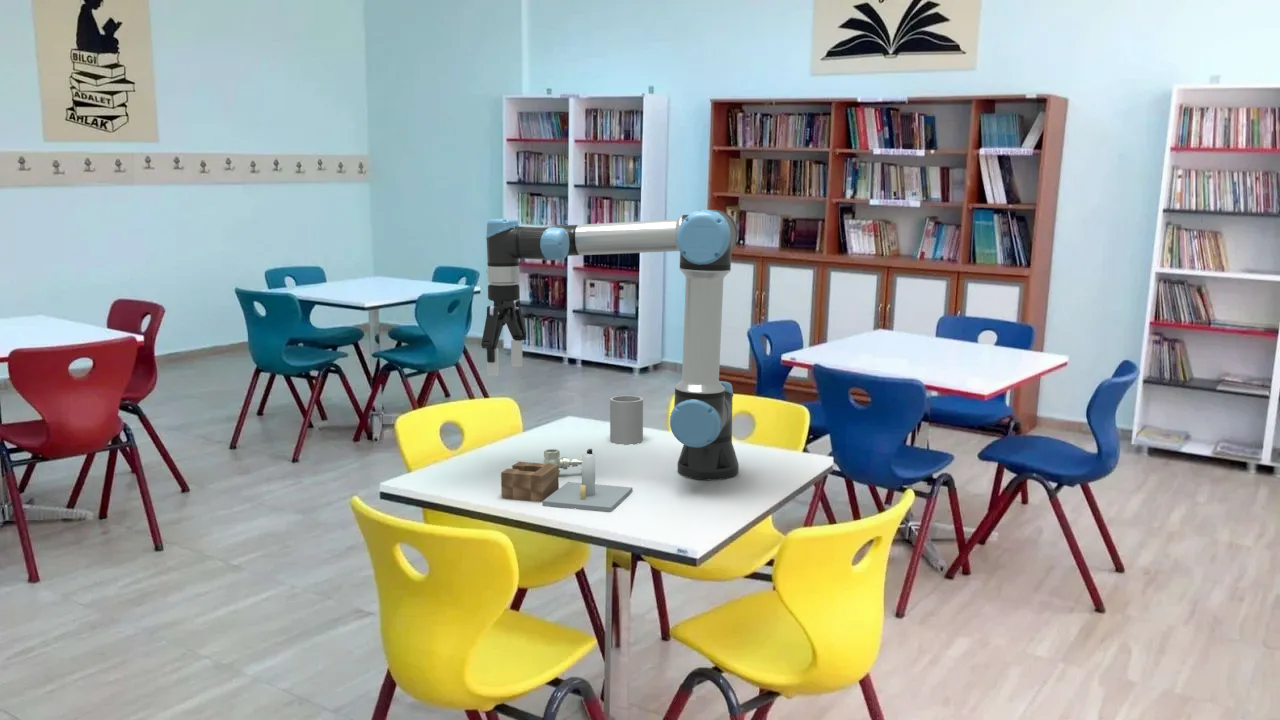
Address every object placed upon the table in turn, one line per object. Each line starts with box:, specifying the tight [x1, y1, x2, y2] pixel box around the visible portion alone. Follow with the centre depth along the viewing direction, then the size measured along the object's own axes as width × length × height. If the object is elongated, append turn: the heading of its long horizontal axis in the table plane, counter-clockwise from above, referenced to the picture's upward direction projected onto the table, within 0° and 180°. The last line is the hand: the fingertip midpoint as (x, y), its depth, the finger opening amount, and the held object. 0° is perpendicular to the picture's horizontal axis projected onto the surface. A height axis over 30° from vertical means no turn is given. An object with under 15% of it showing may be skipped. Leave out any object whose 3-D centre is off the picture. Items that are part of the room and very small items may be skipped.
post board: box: [541, 453, 634, 513], centre depth 234 cm, size 16×16×10 cm
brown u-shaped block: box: [500, 461, 560, 503], centre depth 237 cm, size 10×10×6 cm
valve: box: [542, 448, 593, 478], centre depth 253 cm, size 7×7×12 cm
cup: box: [609, 395, 644, 446], centre depth 287 cm, size 9×9×12 cm
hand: (505, 371), depth 250 cm, fingers open, 13 cm apart
